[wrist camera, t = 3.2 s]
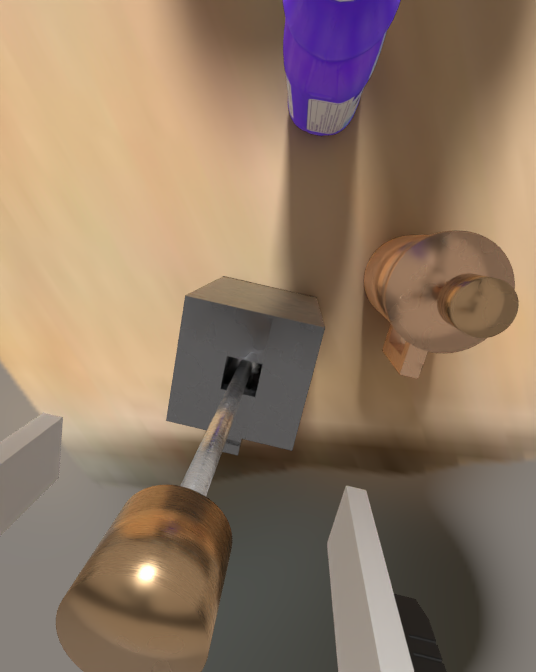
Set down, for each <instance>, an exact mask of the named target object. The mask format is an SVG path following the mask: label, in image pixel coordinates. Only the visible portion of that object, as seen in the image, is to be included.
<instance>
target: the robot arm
mask: <svg viewBox="0 0 536 672" xmlns="http://www.w3.org/2000/svg"><path fill="white" fill-rule="evenodd" d="M62 421H63V417H59V416H55V415H51V414H47V413H42V414H41V415H39V416H38V417H36V418H35V419H33V420H32V421H30V422H29V423H27V424H26V425H24V426H23V427H22V428H20V429H19V430H17V431H16V432H14V433H13V434H11V435H10V436H8V437H7V438H6V439H4V440H2V441H1V442H0V536H1V535H2V534H3V533H4V532H5V531H6V530H7V529H8V528H9V527H10V526H11V525H12V524H13V523H14V522H15V521H16V520H17V519H18V518H19V517H20V516H21V515H22V514H23V513H24V512H25V511H26V510H27V509H28V508H29V507H30V506H31V505H32V504H33V503H34V502H35V501H36V500H37V499H38V498H39V497H40V496H41V495H42V494H43V493H44V492H45V491H46V490H47V489H48V488H49V487H50V486H51V485H52V484H53V483H54V482H55V481H56V480H57V479H58V478H59V468H60V453H61V437H62ZM327 549H328V560H329V571H330V583H331V594H332V605H333V616H334V627H335V638H336V650H337V660H338V672H446V669H445V666H444V664H443V663H442V657H441V654H440V651H439V648H438V645H436V639H435V637H434V633H433V631H432V628H431V625H430V622H429V619H428V618H427V616H426V614H425V613H424V611H423V610H422V608H421V607H420V605H419V604H418V602H417V601H416V599H413V598H409V597H405V596H401V595H397V594H394V593H393V590H392V586H391V582H390V578H389V574H388V571H387V567H386V563H385V559H384V556H383V552H382V548H381V544H380V541H379V537H378V533H377V529H376V525H375V522H374V518H373V514H372V510H371V506H370V503H369V499H368V495H367V491H366V490H363V489H359V488H355V487H351V486H347V485H346V487H345V490H344V493H343V496H342V499H341V502H340V505H339V508H338V511H337V514H336V517H335V520H334V524H333V527H332V530H331V533H330V536H329V539H328V542H327Z"/></svg>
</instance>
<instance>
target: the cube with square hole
mask: <svg viewBox="0 0 536 672" xmlns="http://www.w3.org/2000/svg"><path fill="white" fill-rule="evenodd" d="M324 330H325V326H324V322H323V319H322V315H321V312H320V308H319V304H318V301H317V297H313V296H308V295H304V294H300V293H295V292H291V291H287V290H282V289H278V288H273V287H269V286H265V285H260V284H256V283H251V282H247V281H243V280H238V279H234V278H229V277H225V276H223V277H221V278H219V279H217V280H215V281H213V282H211V283H209V284H207V285H205V286H203V287H201V288H199V289H197V290H195V291H193V292H191V293H190V294H188V295H186V296H185V301H184V307H183V314H182V321H181V327H180V334H179V340H178V347H177V353H176V360H175V366H174V373H173V380H172V386H171V393H170V399H169V406H168V412H167V419H166V421H170V422H174V423H178V424H182V425H186V426H191V427H195V428H199V429H203V430H207V429H208V427H209V425H210V423H211V421H212V419H213V417H214V415H215V413H216V411H217V409H218V407H219V404H220V402H221V400H222V398H223V396H224V394H225V392H226V390H227V388H228V386H229V384H225V383H224V378H225V373H226V368H227V362H228V357H234V358H238V359H242V360H246V361H251V362H255V363H259V364H263V365H262V369H261V374H260V378H259V383H258V387H257V391H254V390H250V389H246V388H245V390H244V393H243V395H242V398H241V401H240V404H239V407H238V409H237V412H236V415H235V418H234V420H233V423H232V426H231V429H230V431H229V434H228V437H227V440H226V442H225V445H224V448H223V451H222V452H226V453H230V454H234V455H238V452H239V449H240V445H241V442H242V439H245V440H249V441H253V442H258V443H262V444H266V445H270V446H274V447H279V448H283V449H287V450H291V451H292V449H293V446H294V442H295V438H296V434H297V431H298V427H299V423H300V419H301V416H302V412H303V408H304V405H305V401H306V397H307V393H308V390H309V386H310V382H311V378H312V375H313V371H314V367H315V364H316V360H317V356H318V352H319V349H320V345H321V341H322V337H323V334H324Z"/></svg>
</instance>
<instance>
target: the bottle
mask: <svg viewBox="0 0 536 672" xmlns="http://www.w3.org/2000/svg"><path fill="white" fill-rule="evenodd" d="M400 1H401V0H283V7H284V12H285V17H286V19H285V28H284V40H283V56H284V67H285V72H286V80H287V92H288V109H289V113H290V116H291V119H292V120H293V122H294V124H295V125H296V126H297V127H298V128H300V129H301V130H303V131H306V132H308V133H310V134H315V135H319V136H323V135H334V134H337V133H339V132H340V131H342V130H343V129H344V128H345V127H346V126H347V125H348V124H349V123H350V121H351V119H352V118H353V116H354V114H355V111H356V109H357V106H358V104H359V101H360V97H361V94H362V92H363V89H364V87H365V85H366V83H367V82H368V80H369V78H370V76H371V74H372V72H373V70H374V68H375V66H376V63H377V61H378V58H379V55H380V52H381V49H382V46H383V43H384V39H385V36H386V32H387V29H388V28H389V26H390V24H391V22H392V21H393V19H394V16H395V14H396V12H397V10H398V7H399V4H400Z"/></svg>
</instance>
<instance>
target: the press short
mask: <svg viewBox="0 0 536 672" xmlns="http://www.w3.org/2000/svg"><path fill="white" fill-rule="evenodd" d="M364 288H365V292H366V295H367V297H368V299H369V301H370V303H371V304H372V305H373V306H374V308H375V309H376V310H378V311H379V312H380V313H381V314H382V315H383V316H384V317H385V318H386V319H387V320H388V321H389V322H390V328H389V331H388V334H387V337H386V340H385V343H384V346H383V349H382V351H383V352H384V354H385V355H386V356H387V358H388V359H389V361H390V362H391V363H392V365H393V366H394V367H395V369H396V370H397V371H398V373H399V374H400V375H404V376H408V377H413V378H417V379H418V378H419V375H420V372H421V369H422V367H423V364H424V361H425V358H426V355H427V353H428V352H434V353H453V352H458V351H462V350H465V349H469V348H471V347H473V346H475V345H477V344H479V343H480V342H482V341H484V340H485V339H486V338H488V337H492V336H495V335H497V334H499V333H501V332H503V331H504V330H505V329H507V328H508V327H509V326H510V324H511V323H512V322H513V320H514V319H515V317H516V314H517V311H518V297H517V294H516V292H515V290H514V289H515V281H514V274H513V269H512V267H511V264H510V262H509V260H508V258H507V256H506V255H505V253H504V252H503V251H502V250H501V248H500V247H499V246H497V245H496V244H495V243H494V242H493V241H491V240H489V239H488V238H486V237H484V236H482V235H479V234H476V233H473V232H467V231H445V232H439V233H435V234H431V235H406V236H400V237H397V238H394V239H391V240H390V241H388V242H386V243H384V244H383V245H382V246H380V247H379V248H378V249H377V250H376V251H375V253H374V254H373V255H372V257H371V258H370V260H369V262H368V264H367V266H366V269H365V274H364ZM405 342H406V343H405Z"/></svg>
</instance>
